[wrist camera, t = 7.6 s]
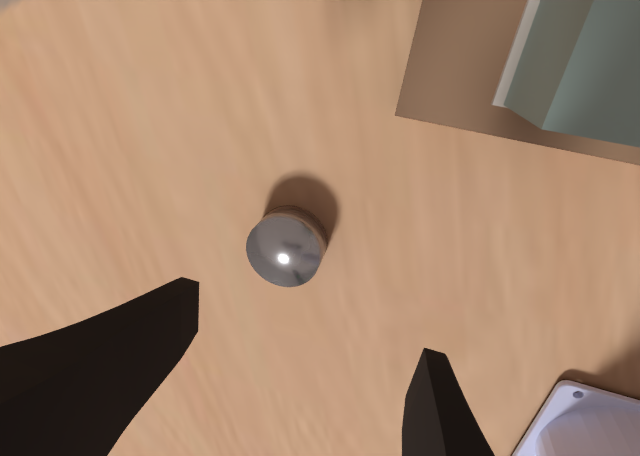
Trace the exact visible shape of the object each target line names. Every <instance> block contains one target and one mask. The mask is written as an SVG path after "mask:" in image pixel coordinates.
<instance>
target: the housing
mask: <svg viewBox="0 0 640 456" xmlns="http://www.w3.org/2000/svg"><path fill="white" fill-rule="evenodd" d="M504 106H506V107H507V108H509V109H510V110H512V111H514V112H515V113H517V114H518V115H520V116H521V117H523V118H524V119H526V120H528V121H529V122H531V123H532V124H534V125H535V126H537V127H539V128H540V129H543V130H548V131H553V132H559V133H564V134H569V135H575V136H580V137H585V138H591V139H596V140H602V141H607V142H612V143H618V144H623V145H628V146H634V147H639V148H640V0H540V2H539V5H538V8H537V11H536V14H535V17H534V20H533V22H532V25H531V28H530V31H529V34H528V37H527V39H526V42H525V45H524V48H523V51H522V54H521V56H520V59H519V62H518V65H517V68H516V71H515V73H514V76H513V79H512V82H511V85H510V88H509V90H508V93H507V96H506V99H505V102H504Z"/></svg>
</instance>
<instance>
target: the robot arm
mask: <svg viewBox="0 0 640 456" xmlns="http://www.w3.org/2000/svg"><path fill="white" fill-rule="evenodd" d="M198 313H199V282H197V281H194V280H190V279H187V278H183V277H181V278H178V279H176V280H174V281H171V282H169V283H167V284H165V285H163V286H161V287H159V288H156V289H154V290H152V291H150V292H148V293H146V294H144V295H141V296H139V297H137V298H135V299H133V300H131V301H128V302H126V303H124V304H122V305H120V306H117V307H115V308H112V309H110V310H108V311H105V312H103V313H100V314H98V315H96V316H93V317H91V318H88V319H86V320H83V321H81V322H78V323H76V324H73V325H70V326H67V327H65V328H62V329H59V330H56V331H53V332H50V333H47V334H44V335H41V336H37V337H34V338H31V339H27V340H24V341H20V342H16V343H13V344H9V345H5V346H2V347H0V456H107V455H108V454H109V452H110V451H111V449H112V448H113V446H114V445H115V443H116V442H117V440H118V439H119V437H120V436H121V434H122V433H123V431H124V430H125V429H126V427H127V426H128V425H129V423H130V422H131V421H132V419H133V418H134V417H135V415H136V414H137V413H138V412H139V410H140V409H141V408H142V407H143V406H144V404H145V403H146V402H147V401H148V399H149V398H150V397H151V396H152V394H153V393H154V392H155V391H156V389H157V388H158V387H159V386H160V384H161V383H162V382H163V381H164V380H165V378H166V377H167V376H168V375H169V373H170V372H171V371H172V370H173V368H174V367H175V366H176V364H177V363H178V362H179V361H180V359H181V358H182V356H183V355H184V353H185V352H186V350H187V349H188V347H189V345H190V344H191V342H192V340H193V339H194V337H195V335H196V334H197V332H198ZM576 391H580V392H577V393H574V392H576ZM402 456H495V455H494V453H493V451H492V450H491V448H490V446H489V444H488V443H487V441H486V439H485V437H484V435H483V433H482V431H481V429H480V428H479V426H478V424H477V422H476V420H475V418H474V416H473V414H472V412H471V410H470V407H469V405H468V403H467V401H466V399H465V397H464V395H463V393H462V390H461V388H460V386H459V384H458V381H457V379H456V377H455V374H454V372H453V370H452V367H451V365H450V362H449V360H448V358H447V356H446V354H444V353H441V352H438V351H434V350H431V349H427V348H424V349H423V352H422V354H421V357H420V360H419V362H418V365H417V368H416V370H415V373H414V375H413V378H412V381H411V383H410V386H409V389H408V391H407V394H406V398H405V407H404V416H403V426H402ZM512 456H640V400H637V399H633V398H630V397H626V396H623V395H619V394H616V393H612V392H609V391H605V390H602V389H598V388H595V387H591V386H588V385H584V384H581V383H577V382H574V381H570V380H562V381H560V382H558V383H557V384H556V386H555V388H554V389H553V391H552V392H551V394H550V396H549V397H548V399H547V400H546V402H545V404H544V405H543V407H542V408H541V410H540V412H539V413H538V415H537V416H536V418H535V420H534V421H533V423H532V424H531V426H530V428H529V429H528V431H527V432H526V434H525V435H524V437H523V439H522V440H521V442H520V443H519V445H518V447H517V448H516V450H515V451H514V453H513V455H512Z"/></svg>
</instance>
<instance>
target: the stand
mask: <svg viewBox="0 0 640 456" xmlns="http://www.w3.org/2000/svg"><path fill="white" fill-rule="evenodd" d="M539 2H540V0H423V1H422V5H421V9H420V13H419V17H418V21H417V26H416V30H415V34H414V38H413V42H412V46H411V50H410V54H409V59H408V63H407V67H406V71H405V75H404V79H403V83H402V88H401V92H400V96H399V100H398V104H397V108H396V112H395V116H400V117H405V118H409V119H414V120H419V121H424V122H429V123H434V124H439V125H444V126H449V127H454V128H459V129H463V130H468V131H473V132H478V133H483V134H488V135H493V136H498V137H503V138H508V139H513V140H518V141H522V142H527V143H532V144H537V145H542V146H547V147H552V148H557V149H562V150H567V151H572V152H576V153H581V154H586V155H591V156H596V157H601V158H606V159H611V160H616V161H621V162H626V163H630V164H635V165H640V148H639V147H634V146H628V145H623V144H618V143H612V142H607V141H602V140H596V139H591V138H585V137H580V136H575V135H569V134H564V133H559V132H553V131H548V130H543V129H540V128H539V127H537V126H535V125H534V124H532V123H531V122H529V121H528V120H526V119H524V118H523V117H521V116H520V115H518V114H517V113H515V112H514V111H512V110H510V109H509V108H507V107H506V106H504V102H505V99H506V96H507V93H508V90H509V88H510V85H511V82H512V79H513V76H514V73H515V71H516V68H517V65H518V62H519V59H520V56H521V54H522V51H523V48H524V45H525V42H526V39H527V37H528V34H529V31H530V28H531V25H532V22H533V20H534V17H535V14H536V11H537V8H538V5H539Z"/></svg>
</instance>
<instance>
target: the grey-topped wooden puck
mask: <svg viewBox="0 0 640 456" xmlns="http://www.w3.org/2000/svg"><path fill="white" fill-rule="evenodd" d="M326 249H327V236H326V232H325V230H324V228H323V226H322V224H321V223H320V221H319V220H318V219H317V218H316V217H315V216H314V215H313V214H311V213H310V212H308V211H307V210H305V209H302V208H299V207H295V206H282V207H278V208H275V209H273V210H271V211H270V212H269V213H268V214H267V215H266V216H265V217H264V218H263V219H262V220H261V221H260V222H259V223H258V224H257V225H256V226H255V227H254V228H253V229H252V231H251V232H250V234H249V236H248V239H247V244H246V251H247V256H248V259H249V262H250V263H251V265H252V267H253V268H254V270H255V271H256V272H257V273H258V274H259V275H260V276H261V277H262V278H264V279H265V280H267V281H268V282H270V283H273V284H275V285H278V286H283V287H295V286H299V285H302V284H304V283H306V282H308V281H309V280H310V279H311V278H312V277H313V276H314V275H315V273H316V271H317V269H318V267H319V265H320V263H321V261H322V259H323V257H324V254H325V252H326Z"/></svg>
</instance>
